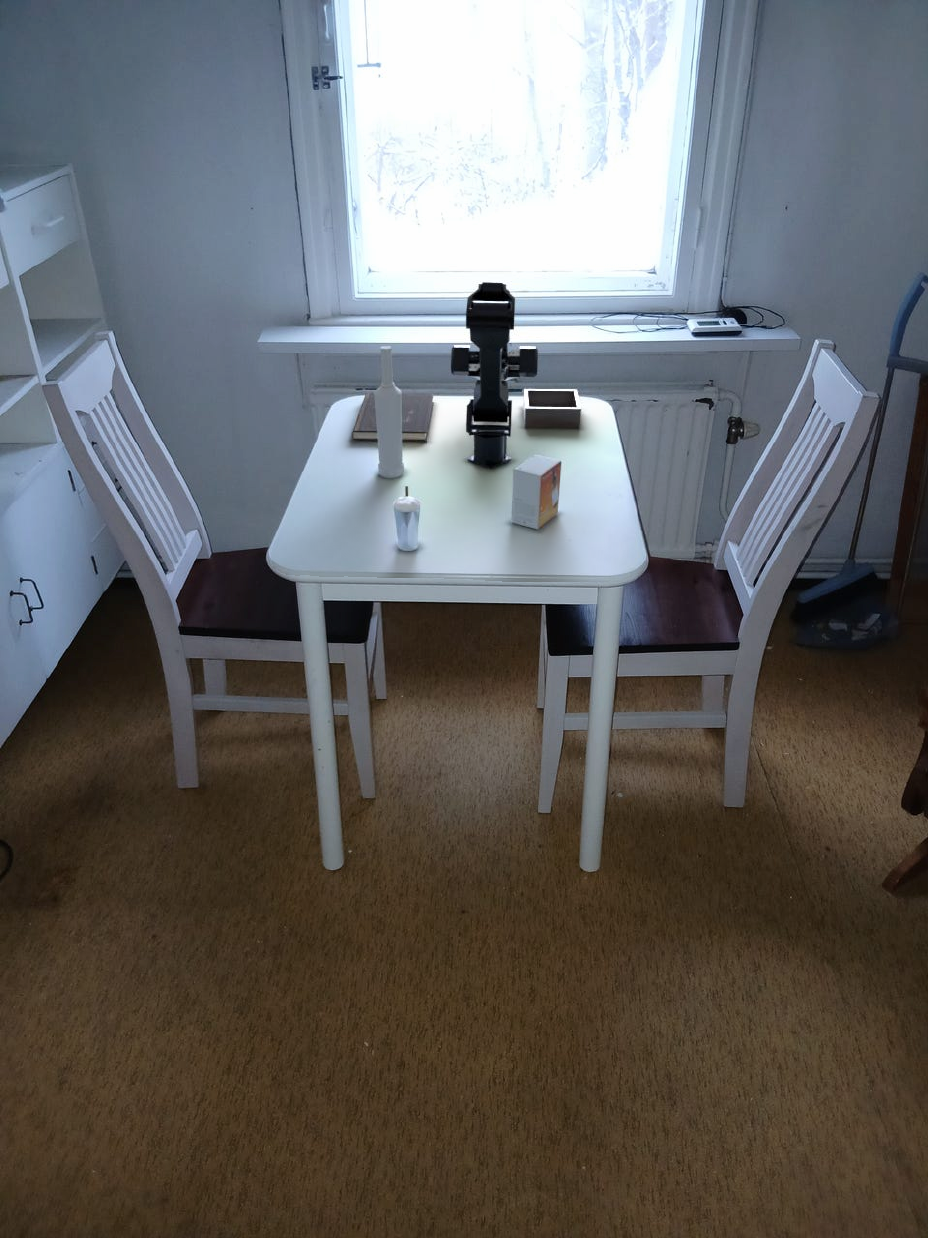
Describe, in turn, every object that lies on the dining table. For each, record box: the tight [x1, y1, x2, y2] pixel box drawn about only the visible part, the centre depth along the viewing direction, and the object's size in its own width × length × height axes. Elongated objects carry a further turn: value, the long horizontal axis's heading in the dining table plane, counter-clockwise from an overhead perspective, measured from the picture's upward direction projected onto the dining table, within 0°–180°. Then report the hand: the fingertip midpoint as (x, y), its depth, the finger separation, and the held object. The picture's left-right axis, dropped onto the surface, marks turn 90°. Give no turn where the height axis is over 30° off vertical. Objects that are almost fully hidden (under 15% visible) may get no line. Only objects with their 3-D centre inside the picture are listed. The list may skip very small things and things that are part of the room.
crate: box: [522, 388, 582, 429], centre depth 206 cm, size 12×12×4 cm
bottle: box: [373, 345, 405, 479], centre depth 175 cm, size 5×5×25 cm
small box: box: [510, 454, 562, 530], centre depth 163 cm, size 8×6×10 cm
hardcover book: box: [351, 392, 435, 443], centre depth 204 cm, size 16×23×2 cm
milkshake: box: [392, 485, 421, 552], centre depth 155 cm, size 5×5×10 cm
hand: (494, 378), depth 207 cm, fingers closed on beer can, 5 cm apart
